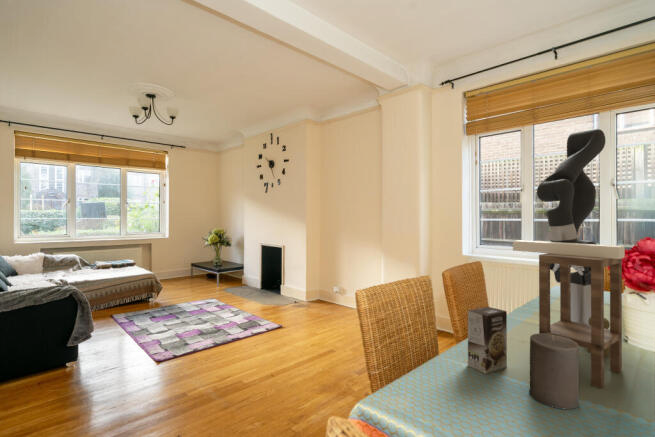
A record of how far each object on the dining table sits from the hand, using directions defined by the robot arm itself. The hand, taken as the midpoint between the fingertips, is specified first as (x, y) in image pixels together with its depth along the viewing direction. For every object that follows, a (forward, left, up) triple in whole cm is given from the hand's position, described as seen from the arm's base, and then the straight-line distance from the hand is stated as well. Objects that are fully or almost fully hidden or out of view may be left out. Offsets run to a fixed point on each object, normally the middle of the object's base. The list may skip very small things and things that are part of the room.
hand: (571, 283), depth 114 cm
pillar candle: (+46, +12, -19) cm, 52 cm away
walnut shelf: (+24, +10, -19) cm, 33 cm away
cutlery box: (+24, +6, +13) cm, 28 cm away
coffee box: (+43, -6, -19) cm, 48 cm away
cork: (+6, +9, -19) cm, 22 cm away
